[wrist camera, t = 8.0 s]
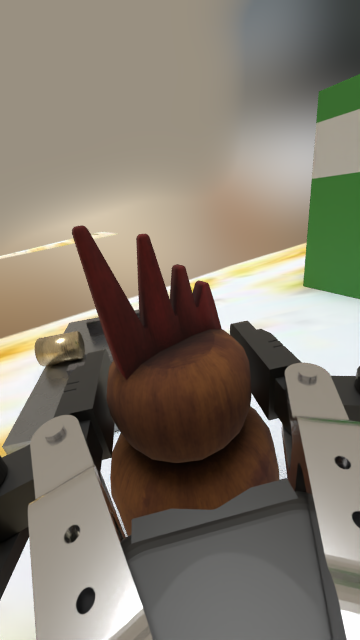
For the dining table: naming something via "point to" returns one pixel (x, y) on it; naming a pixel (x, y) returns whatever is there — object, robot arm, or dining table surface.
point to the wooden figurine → (174, 392)
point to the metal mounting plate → (55, 376)
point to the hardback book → (335, 193)
